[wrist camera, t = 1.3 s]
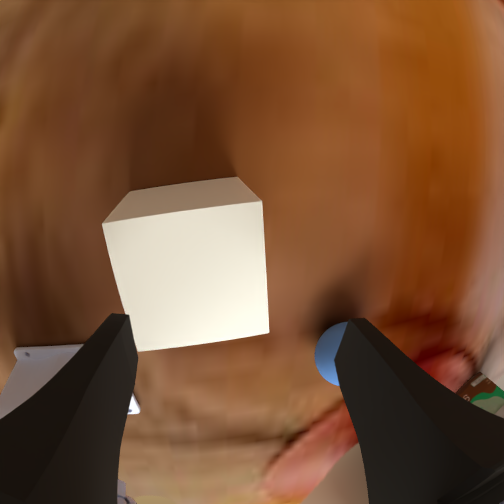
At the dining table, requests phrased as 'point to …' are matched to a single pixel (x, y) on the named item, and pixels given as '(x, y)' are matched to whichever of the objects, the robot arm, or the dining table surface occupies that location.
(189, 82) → the dining table surface
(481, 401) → the food container
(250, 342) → the dining table surface
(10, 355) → the dining table surface
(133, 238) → the white cube block
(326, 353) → the ball
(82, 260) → the dining table surface
